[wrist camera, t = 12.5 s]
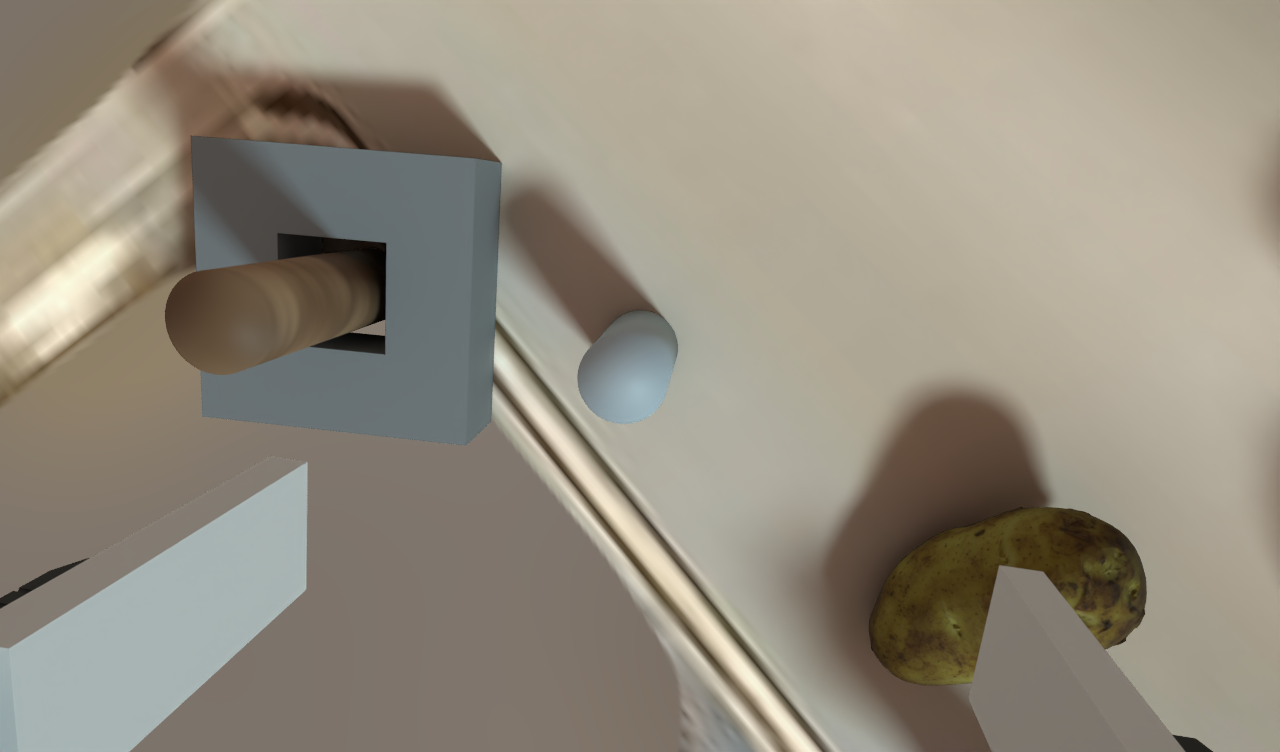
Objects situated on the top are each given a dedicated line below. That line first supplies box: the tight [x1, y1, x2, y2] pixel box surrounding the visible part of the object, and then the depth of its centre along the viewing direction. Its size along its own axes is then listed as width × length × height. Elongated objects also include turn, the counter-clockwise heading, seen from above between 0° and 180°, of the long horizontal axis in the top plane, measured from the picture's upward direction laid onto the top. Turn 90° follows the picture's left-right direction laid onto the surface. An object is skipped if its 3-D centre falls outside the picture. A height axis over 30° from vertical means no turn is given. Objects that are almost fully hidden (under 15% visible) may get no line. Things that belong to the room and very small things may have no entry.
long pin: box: [165, 248, 386, 375], centre depth 37 cm, size 4×4×14 cm
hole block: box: [191, 136, 502, 445], centre depth 42 cm, size 14×14×4 cm
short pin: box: [578, 310, 678, 424], centre depth 39 cm, size 4×4×8 cm
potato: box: [869, 507, 1147, 685], centre depth 40 cm, size 8×13×8 cm, turn 109°
